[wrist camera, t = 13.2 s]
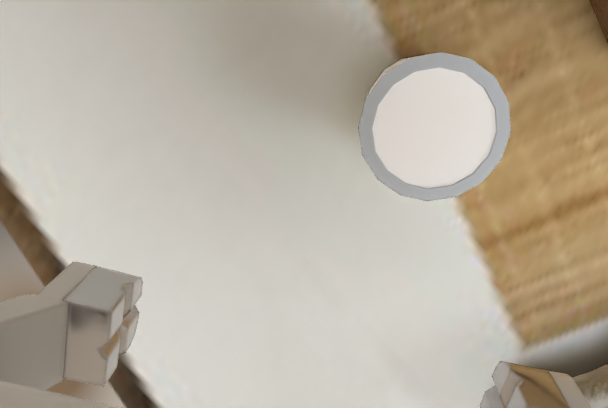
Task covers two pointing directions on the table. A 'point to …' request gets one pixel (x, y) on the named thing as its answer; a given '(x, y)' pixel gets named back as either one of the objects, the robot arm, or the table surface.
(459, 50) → the table surface
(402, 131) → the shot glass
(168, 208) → the table surface
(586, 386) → the ceramic sculpture
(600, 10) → the crate
